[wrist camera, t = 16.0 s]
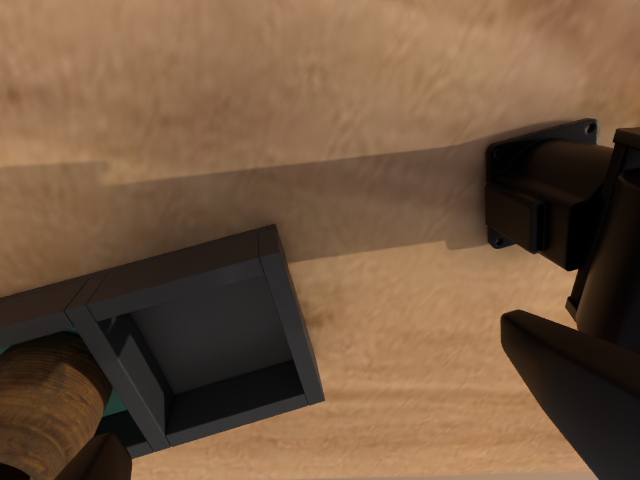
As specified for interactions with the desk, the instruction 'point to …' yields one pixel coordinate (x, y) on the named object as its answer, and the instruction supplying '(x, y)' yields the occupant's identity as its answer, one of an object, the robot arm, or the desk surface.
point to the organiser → (184, 338)
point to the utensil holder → (48, 405)
